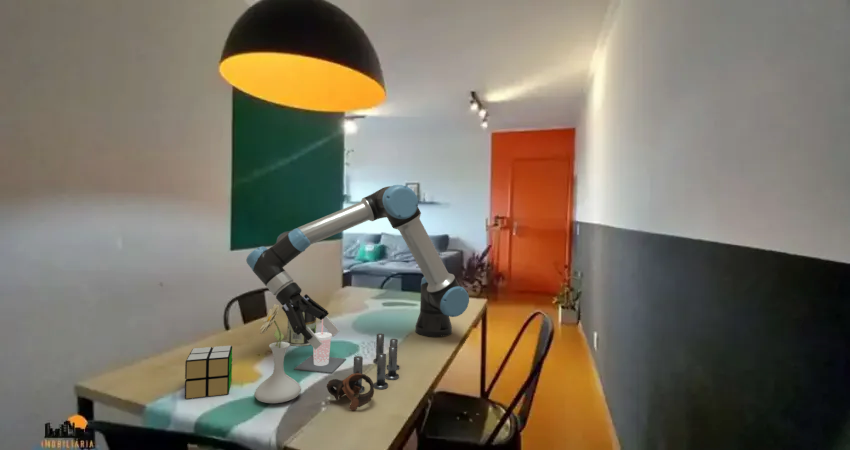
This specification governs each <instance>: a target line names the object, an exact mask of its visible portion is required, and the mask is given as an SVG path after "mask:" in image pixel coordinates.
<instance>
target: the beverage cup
mask: <svg viewBox="0 0 850 450" xmlns="http://www.w3.org/2000/svg"><path fill="white" fill-rule="evenodd" d="M314 334H315V335H316V336H317V337H318V338H319V340H320V341H321V342H322V344H321V345H320V346H319V347H318V348H317V349H316V350H315V349H314V348H313V347H312V348H313V349H312V350H313V354H312V355H313V356H314V365H317V366H324V365H327V364H328V363H329V357H330V351H331V341H332V337H333V336H332V334H331V333H329V332H328V331H327V332H325V331H324V325H323V319H322V323H321V331H319V332H316V333H314Z"/></svg>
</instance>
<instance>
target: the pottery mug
mask: <svg viewBox="0 0 850 450" xmlns="http://www.w3.org/2000/svg"><path fill="white" fill-rule="evenodd" d="M361 378H362V380H364V382H366V383H367V384H368V385H369V390H368V391H367V392H365V393H359V391H360V389H361V388H360V387H357V386H355V385H354V384H355V382H356V380H360V379H361ZM326 388H327V391H328V393H329V394H330V395H331V396H333V397H334V398H335V400H336V401H339V399H341V398H342V397H343V396H346V397H347V398H348V399H349V400H350V401H351V402H350V404H349V406H348V408H349V410H351V411H356V410H357V409H358V408H361V407H362V406H365V405H366V404H368V403H369V402H371V400H372V398H373V397H374V394H375V388H374V382H373V380H372V379H371V377H370V376H369V375H366V374H364V373H362V374H361V373H355V374H353V373H352V374H349V375H348V377H346V378H344V379H342V380H340V379H337V378H333V379H332V378H331V379H330V380H329V381H328V383H327V384H326ZM355 395H357V396H358V397H357V396H355Z"/></svg>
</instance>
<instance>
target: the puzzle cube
mask: <svg viewBox="0 0 850 450" xmlns="http://www.w3.org/2000/svg"><path fill="white" fill-rule="evenodd" d="M184 369H185V372H184V374H185V375H184V379H185V381H184V399H185V400H191V399H192V398H193V399H199V398H200V399H201V398H206V397H208V398H211V397H218V396H220V397H221V396H227V395H229V394H230V390H231V385H232V380H233V379H232V377H233V346H232V345H220V346H219V345H217V346H213V347H212V346H206V347H205V346H204V347H195V348H194V347H193V348H192V349H191V351H190V352H189V355H188V356H187V357H186V360H185V368H184ZM193 399H192V400H193Z"/></svg>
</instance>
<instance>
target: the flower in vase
mask: <svg viewBox="0 0 850 450" xmlns="http://www.w3.org/2000/svg"><path fill="white" fill-rule="evenodd" d="M279 310H280V305H279V304H274V305H273V306H272V308H270V309H269V310H268V313H267V317H265V318H264V319H263V320H262V322H263V324H262V326H261V327H260V328H259V331H260V334H261V335H262V334H266V332H268V330H269V329H270V328H271V326H272V324H275V326H276V330H275V331H274V334H273V337H274V338H275V339H276V340H277V342H272V343H270V344H268V347H269V349H270V350H271V351H272V355H273V361H274V362H273V363H274V365H273V372H272V374H271V375H270V376H269V377H268V378H266V379H265V380H264V381H262V382H261V383H260V384H259V385H258V386H257V387H256V388H255V391H254V393H253V395H254V397H255V398H256V400H257V401H259V402H261V403H266V404H281V403H285V402H288V401H291V400H293V399H295V398H297V397H298V396H299V395H300V393H301V391H302V388H301V385H300V383H299V382H297V380H295V379H294V378H293V377H290V376H289V375H287V373H286V372H285V369H284V362H285V361H284V360H285V355H286V351H287V349H288V348H289V346H291V345H290V344H289V343H287V341H286V342H285V341H283V339H284V338H285V335H284V334H283V332H281V329H280V327H279V325H278V324H277V321H276V318H277V315H278V313H279Z"/></svg>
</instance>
